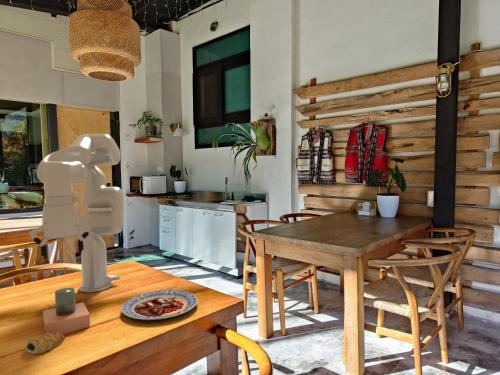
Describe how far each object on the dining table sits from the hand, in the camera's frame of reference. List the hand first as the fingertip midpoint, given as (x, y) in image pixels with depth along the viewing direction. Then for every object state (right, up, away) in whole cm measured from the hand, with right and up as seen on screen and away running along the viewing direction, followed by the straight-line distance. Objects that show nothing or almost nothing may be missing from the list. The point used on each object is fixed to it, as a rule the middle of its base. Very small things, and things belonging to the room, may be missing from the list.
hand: (63, 255), depth 111 cm
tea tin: (0, -18, +1) cm, 18 cm away
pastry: (+1, -24, -13) cm, 27 cm away
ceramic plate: (+27, -21, +13) cm, 37 cm away
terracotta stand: (0, -22, +1) cm, 22 cm away
